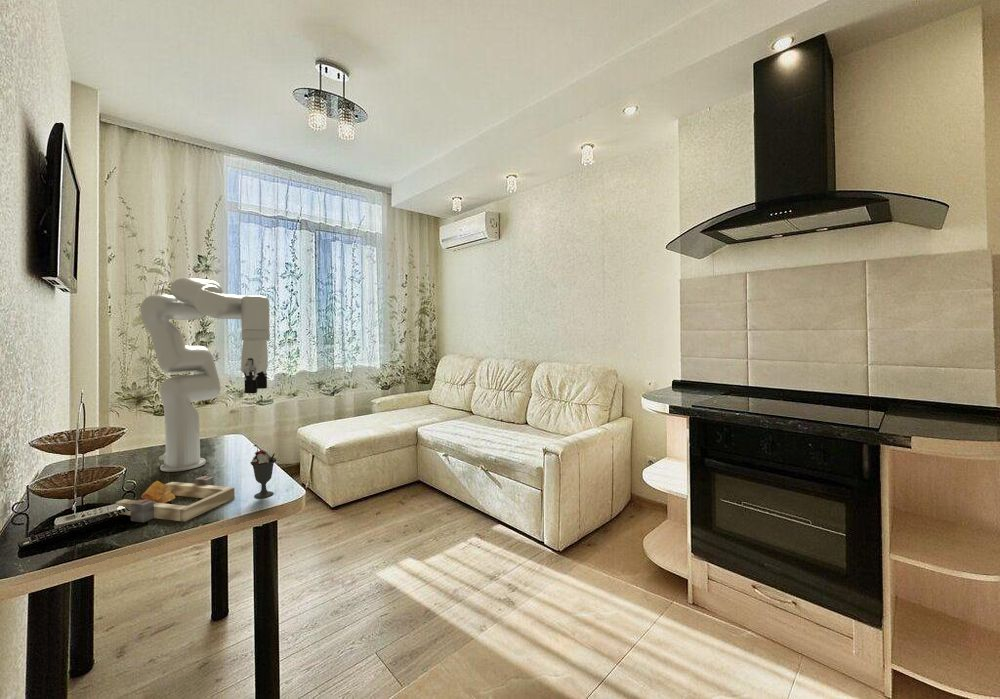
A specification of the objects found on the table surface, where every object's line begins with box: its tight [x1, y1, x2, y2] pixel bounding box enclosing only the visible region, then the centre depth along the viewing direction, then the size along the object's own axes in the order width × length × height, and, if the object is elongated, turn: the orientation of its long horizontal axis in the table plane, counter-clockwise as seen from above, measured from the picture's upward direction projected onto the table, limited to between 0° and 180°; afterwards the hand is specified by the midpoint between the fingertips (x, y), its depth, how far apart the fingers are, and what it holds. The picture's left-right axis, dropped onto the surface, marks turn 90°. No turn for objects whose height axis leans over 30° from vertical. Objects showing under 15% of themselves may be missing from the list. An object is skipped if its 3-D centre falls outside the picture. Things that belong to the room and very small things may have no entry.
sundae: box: [249, 444, 277, 499], centre depth 120 cm, size 7×7×15 cm
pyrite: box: [140, 480, 176, 504], centre depth 115 cm, size 5×7×4 cm
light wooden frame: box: [115, 475, 235, 523], centre depth 113 cm, size 22×20×5 cm
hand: (256, 390), depth 130 cm, fingers open, 9 cm apart
